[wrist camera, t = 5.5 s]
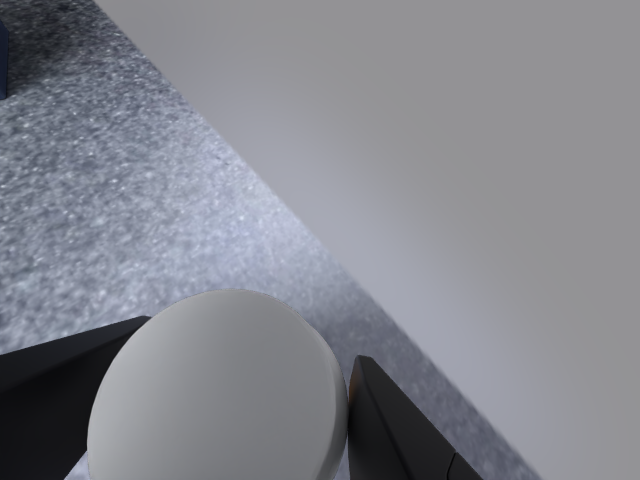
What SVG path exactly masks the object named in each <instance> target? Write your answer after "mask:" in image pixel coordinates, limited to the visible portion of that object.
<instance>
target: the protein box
mask: <svg viewBox="0 0 640 480" xmlns="http://www.w3.org/2000/svg"><path fill="white" fill-rule="evenodd" d="M8 36H9V31H8V30H7V28H6V27H5V26H4V24H3V23H2V21H1V20H0V100H1V99H5V98H6V82H7V61H8Z"/></svg>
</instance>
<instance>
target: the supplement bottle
mask: <svg viewBox="0 0 640 480" xmlns="http://www.w3.org/2000/svg"><path fill="white" fill-rule="evenodd" d="M348 422H349V405H348V397H347V390H346V385H345V381H344V377H343V374H342V371H341V368H340V366H339V363H338V361H337V359H336V357H335V355H334V353H333V351H332V350H331V348H330V347H329V345H328V344H327V342H326V341H325V340H324V338H323V337H322V336H321V335H320V334H319V333H318V332H317V331H316V330H315V329H314V328H313V327H312V326H311V325H309V324H308V323H307V321H306V320H305V319H303V318H302V317H301V316H300V315H299V314H298V313H297V312H296V311H295V310H293V309H292V308H291V307H289V306H288V305H286V304H284V303H283V302H281V301H280V300H277V299H275V298H273V297H271V296H269V295H266V294H262V293H259V292H255V291H250V290H242V289H221V290H213V291H207V292H203V293H200V294H196V295H193V296H190V297H187V298H185V299H183V300H181V301H178V302H176V303H174V304H173V305H171V306H169V307H167V308H166V309H164V310H163V311H161V312H159V313H158V314H156V315H155V316H154V317H153V318H151V319H150V320H149V321H147V322H146V323H145V324H144V325H143V326H142V327H141V328H139V329H138V330H137V331H136V332H135V333H134V334H133V335H132V336H131V338H130V339H129V340H128V341H127V342H126V344H125V345H124V346H123V347H122V348H121V350H120V351H119V353H118V354H117V356H116V357H115V358H114V360H113V361H112V363H111V365H110V367H109V369H108V371H107V372H106V374H105V376H104V378H103V380H102V382H101V385H100V387H99V389H98V392H97V395H96V398H95V401H94V404H93V407H92V412H91V416H90V421H89V427H88V437H87V454H88V468H89V473H90V478H91V480H333V479H334V477H335V475H336V473H337V470H338V467H339V464H340V462H341V459H342V456H343V452H344V448H345V444H346V438H347V431H348Z"/></svg>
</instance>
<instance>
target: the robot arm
mask: <svg viewBox="0 0 640 480" xmlns="http://www.w3.org/2000/svg"><path fill="white" fill-rule="evenodd" d="M151 318H153V317H149V316H139V317H136V318H132V319H128V320H125V321H121V322H118V323H114V324H110V325H107V326H103V327H100V328H96V329H92V330H89V331H85V332H82V333H78V334H74V335H71V336H67V337H64V338H60V339H56V340H53V341H49V342H46V343H42V344H38V345H35V346H31V347H28V348H24V349H20V350H17V351H13V352H10V353H6V354H2V355H0V480H64V479H65V477H66V476H67V475H68V474H69V472H70V471H71V470H72V469H73V467H74V466H75V465H76V463H77V462H78V461H79V460H80V458H81V457H82V456H83V455H84V453H85V452H86V451H87V437H88V427H89V421H90V416H91V412H92V407H93V404H94V401H95V398H96V395H97V392H98V389H99V387H100V385H101V382H102V380H103V378H104V376H105V374H106V372H107V371H108V369H109V367H110V365H111V363H112V361H113V360H114V358H115V357H116V356H117V354H118V353H119V351H120V350H121V348H122V347H123V346H124V345H125V344H126V342H127V341H128V340H129V339H130V338H131V336H132V335H133V334H134V333H135V332H136V331H137V330H138V329H139V328H141V327H142V326H143V325H144V324H145V323H146V322H147V321H149V320H150V319H151ZM455 452H456V450H455V449H454V447H453V446H452V445H451V444H450V443H449V442H448V441H447V440H446V439H445V438H444V436H443V435H442V434H441V433H440V432H439V431H438V430H437V429H436V428H435V427H434V425H433V424H432V423H431V422H430V421H429V420H428V419H427V418H426V417H425V416H424V414H423V413H422V412H421V411H420V410H419V409H418V408H417V407H416V406H415V405H414V403H413V402H412V401H411V400H410V399H409V398H408V397H407V396H406V395H405V394H404V392H403V391H402V390H401V389H400V388H399V387H398V386H397V385H396V384H395V383H394V381H393V380H392V379H391V378H390V377H389V376H388V375H387V374H386V373H385V372H384V370H383V369H382V368H381V367H380V366H379V365H378V364H377V363H376V362H375V361H374V359H373V358H371V357H367V356H362V355H358V356H356V358H355V362H354V366H353V371H352V375H351V380H350V386H349V422H348V458H349V470H350V480H483V479H482V478H481V477H480V476H479V475H478V473H477V472H476V471H475V470H474V469H473V468H472V467H471V466H470V465H469V464H468V463H467V462H466V461H465V459H464V458H463V457H462V456H461V455H460V454H459V453H458V452H456V453H455Z"/></svg>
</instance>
